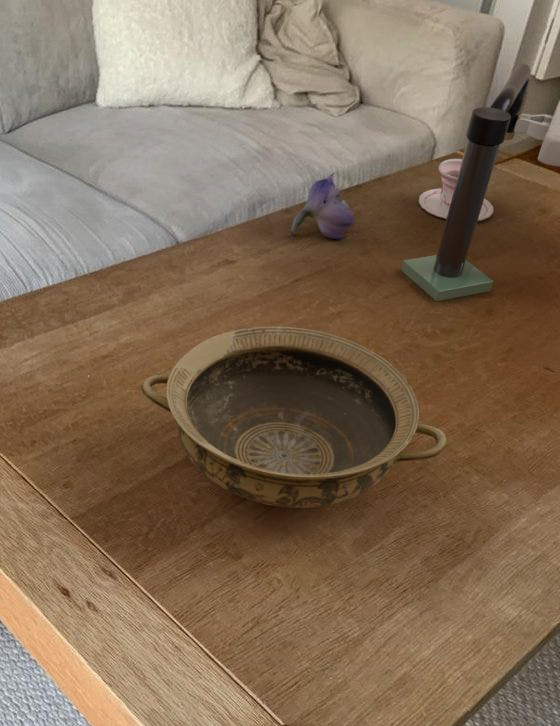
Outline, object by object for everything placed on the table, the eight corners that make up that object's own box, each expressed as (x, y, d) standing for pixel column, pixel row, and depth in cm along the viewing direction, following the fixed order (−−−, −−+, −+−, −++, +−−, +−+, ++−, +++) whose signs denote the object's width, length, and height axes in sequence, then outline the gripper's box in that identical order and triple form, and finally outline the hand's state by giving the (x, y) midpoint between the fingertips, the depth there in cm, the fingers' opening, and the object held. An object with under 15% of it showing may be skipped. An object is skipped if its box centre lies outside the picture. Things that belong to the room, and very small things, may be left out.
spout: (482, 208, 105) (507, 123, 98) (446, 200, 106) (469, 115, 99) (520, 136, 125) (544, 61, 118) (490, 130, 126) (511, 55, 119)
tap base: (452, 261, 120) (491, 124, 107) (490, 291, 114) (536, 149, 101) (400, 270, 117) (433, 130, 104) (436, 301, 111) (476, 157, 98)
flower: (295, 206, 116) (350, 165, 116) (271, 206, 123) (323, 167, 124) (325, 261, 120) (378, 222, 120) (300, 258, 127) (350, 220, 128)
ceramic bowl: (436, 432, 90) (460, 356, 84) (415, 591, 73) (443, 513, 67) (177, 375, 96) (180, 300, 89) (101, 512, 79) (97, 432, 72)
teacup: (414, 188, 138) (423, 152, 134) (486, 195, 138) (497, 158, 134) (422, 220, 130) (431, 181, 125) (498, 226, 129) (510, 188, 125)
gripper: (599, 188, 114) (499, 166, 117) (610, 140, 128) (520, 123, 131) (617, 142, 109) (512, 121, 113) (626, 98, 123) (533, 81, 127)
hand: (516, 121), depth 122 cm, fingers closed
